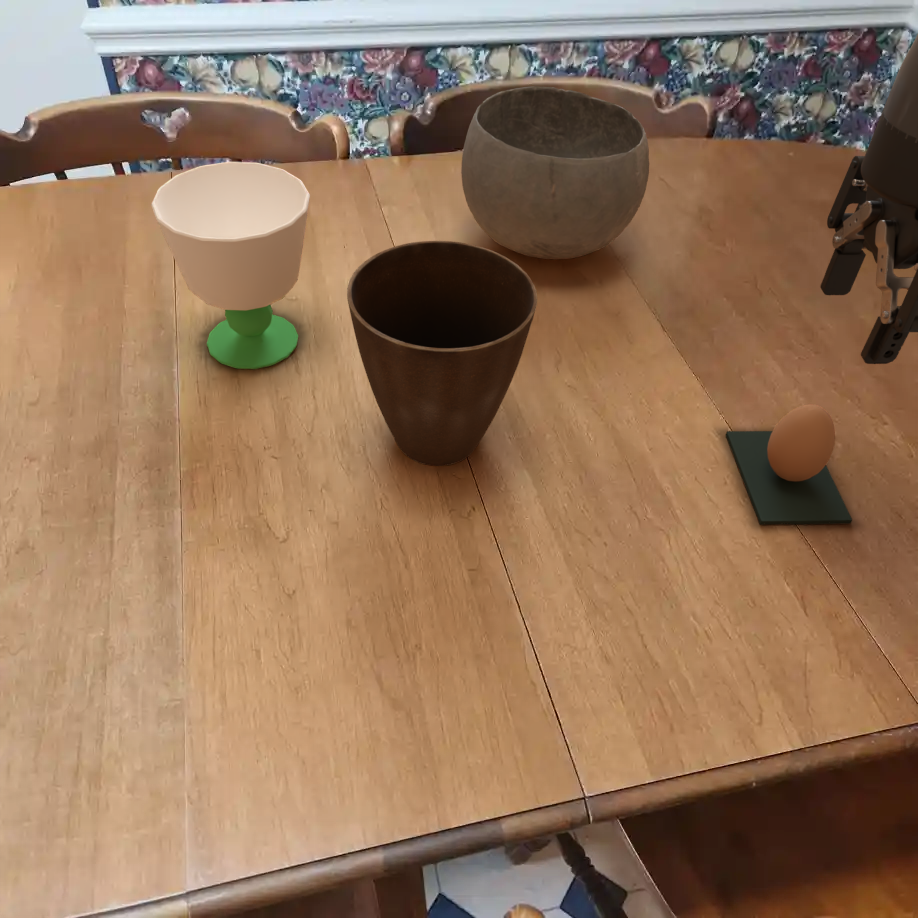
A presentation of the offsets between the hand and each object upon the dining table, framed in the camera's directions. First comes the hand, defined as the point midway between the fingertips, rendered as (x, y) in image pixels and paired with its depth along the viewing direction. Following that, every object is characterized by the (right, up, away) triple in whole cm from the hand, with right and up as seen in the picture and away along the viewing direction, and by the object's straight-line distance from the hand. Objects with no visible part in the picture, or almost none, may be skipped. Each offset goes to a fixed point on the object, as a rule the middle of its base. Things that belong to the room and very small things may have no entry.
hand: (853, 325), depth 67 cm
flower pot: (-32, -8, +14) cm, 36 cm away
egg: (-1, -12, +12) cm, 17 cm away
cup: (-51, +2, +22) cm, 55 cm away
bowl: (-20, +15, +38) cm, 45 cm away
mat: (-1, -12, +12) cm, 17 cm away
